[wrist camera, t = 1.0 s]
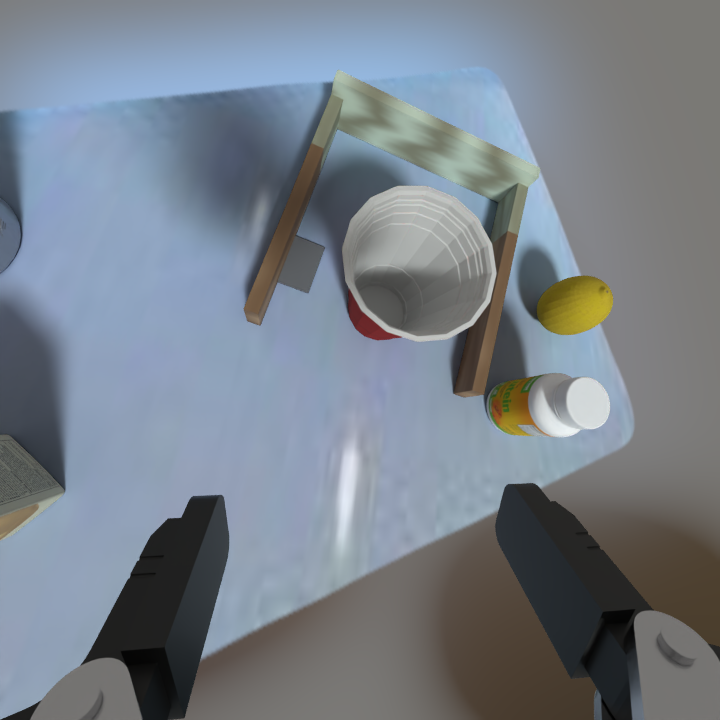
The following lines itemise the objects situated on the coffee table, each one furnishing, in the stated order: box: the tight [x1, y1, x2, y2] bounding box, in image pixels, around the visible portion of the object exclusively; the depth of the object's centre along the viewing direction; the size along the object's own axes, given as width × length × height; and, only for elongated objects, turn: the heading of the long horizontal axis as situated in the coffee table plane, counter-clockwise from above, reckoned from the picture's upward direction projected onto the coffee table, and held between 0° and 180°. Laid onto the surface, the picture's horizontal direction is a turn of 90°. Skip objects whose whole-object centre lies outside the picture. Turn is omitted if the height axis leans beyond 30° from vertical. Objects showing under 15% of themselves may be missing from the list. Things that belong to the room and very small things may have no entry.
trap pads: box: [277, 236, 325, 293], centre depth 36 cm, size 22×6×1 cm, turn 93°
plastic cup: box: [342, 186, 497, 342], centre depth 29 cm, size 11×11×12 cm
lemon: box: [537, 276, 613, 335], centre depth 35 cm, size 6×6×8 cm
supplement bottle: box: [487, 373, 610, 437], centre depth 31 cm, size 5×5×10 cm
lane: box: [244, 70, 540, 397], centre depth 34 cm, size 22×24×5 cm
